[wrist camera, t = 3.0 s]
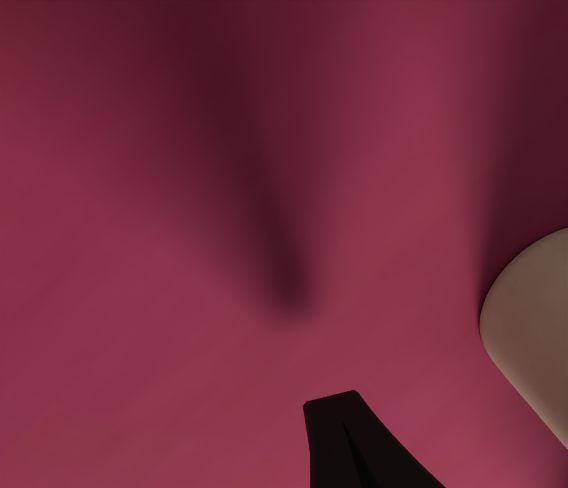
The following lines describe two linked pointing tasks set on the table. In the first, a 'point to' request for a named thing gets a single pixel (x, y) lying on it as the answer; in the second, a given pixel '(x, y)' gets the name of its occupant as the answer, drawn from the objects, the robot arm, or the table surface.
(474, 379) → the table surface
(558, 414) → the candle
